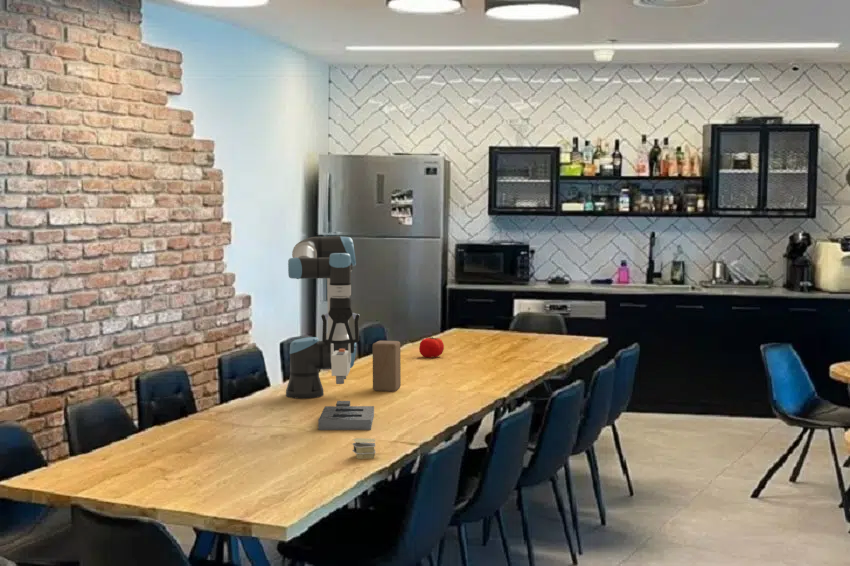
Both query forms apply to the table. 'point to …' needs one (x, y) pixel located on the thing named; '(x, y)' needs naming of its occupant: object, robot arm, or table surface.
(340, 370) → the light grey box
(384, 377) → the wooden block
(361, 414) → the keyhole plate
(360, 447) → the building
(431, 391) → the table surface
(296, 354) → the robot arm
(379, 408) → the table surface
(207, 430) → the table surface
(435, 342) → the tomato
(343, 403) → the block
